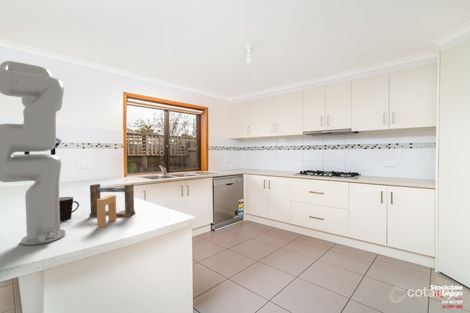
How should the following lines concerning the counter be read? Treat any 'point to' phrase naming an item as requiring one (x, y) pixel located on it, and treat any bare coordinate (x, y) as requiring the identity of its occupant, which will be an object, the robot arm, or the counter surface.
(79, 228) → the counter surface
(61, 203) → the coffee mug
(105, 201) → the tan c-shaped bracket
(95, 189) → the rack
